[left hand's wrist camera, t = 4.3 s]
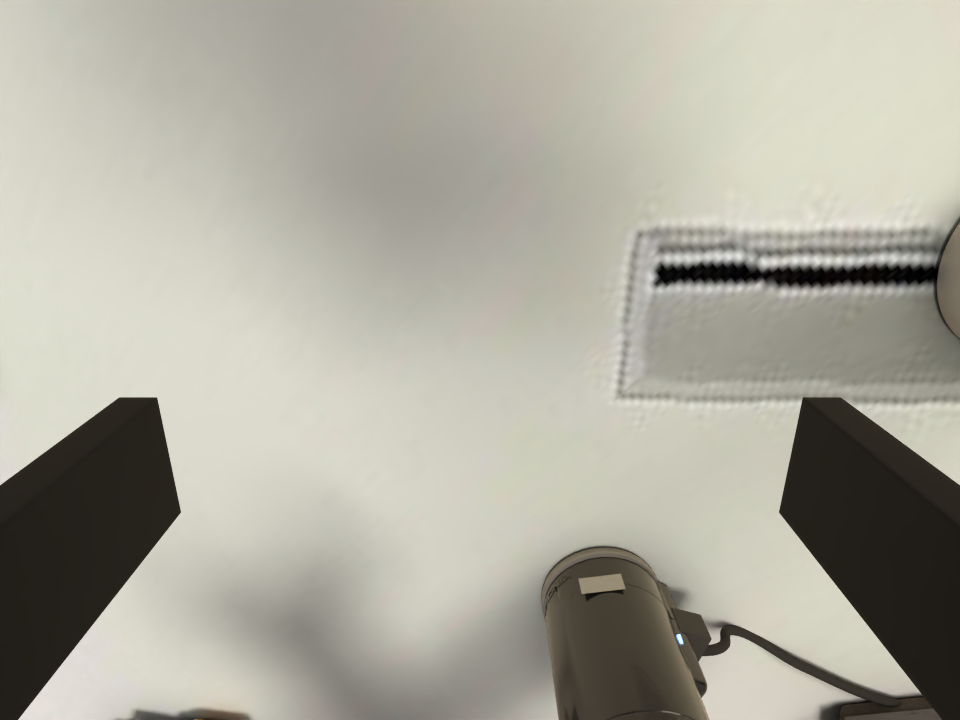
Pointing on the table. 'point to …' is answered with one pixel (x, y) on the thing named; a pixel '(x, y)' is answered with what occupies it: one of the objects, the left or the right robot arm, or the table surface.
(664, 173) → the table surface
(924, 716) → the toy
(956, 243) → the bust sculpture
